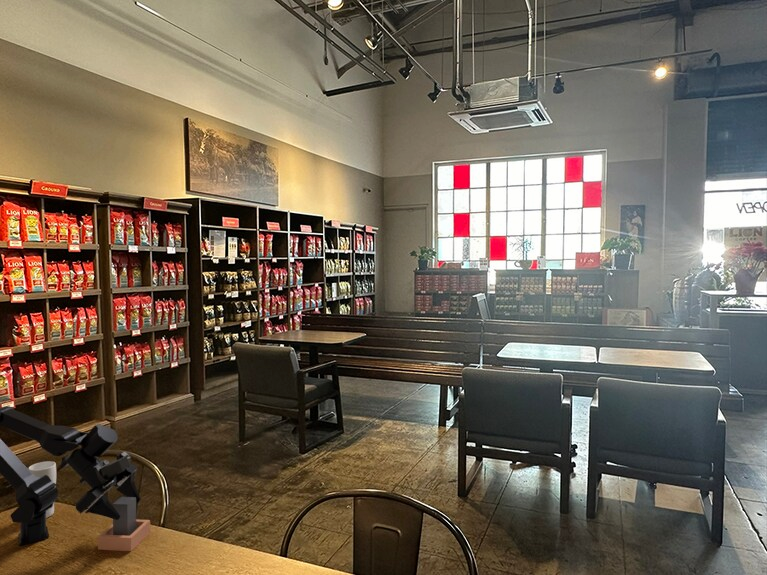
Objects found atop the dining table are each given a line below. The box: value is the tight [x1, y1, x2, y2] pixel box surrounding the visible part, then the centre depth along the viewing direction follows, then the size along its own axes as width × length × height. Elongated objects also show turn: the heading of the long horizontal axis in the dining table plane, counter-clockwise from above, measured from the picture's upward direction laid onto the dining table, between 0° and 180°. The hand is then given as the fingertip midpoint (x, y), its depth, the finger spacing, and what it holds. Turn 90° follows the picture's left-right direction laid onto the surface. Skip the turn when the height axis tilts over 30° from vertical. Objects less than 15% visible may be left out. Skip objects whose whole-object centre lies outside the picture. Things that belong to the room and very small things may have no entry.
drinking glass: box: [27, 460, 57, 519], centre depth 143 cm, size 7×7×15 cm
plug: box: [112, 496, 137, 536], centre depth 131 cm, size 4×4×11 cm
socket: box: [97, 518, 151, 552], centre depth 131 cm, size 9×9×4 cm
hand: (129, 509), depth 131 cm, fingers open, 9 cm apart
